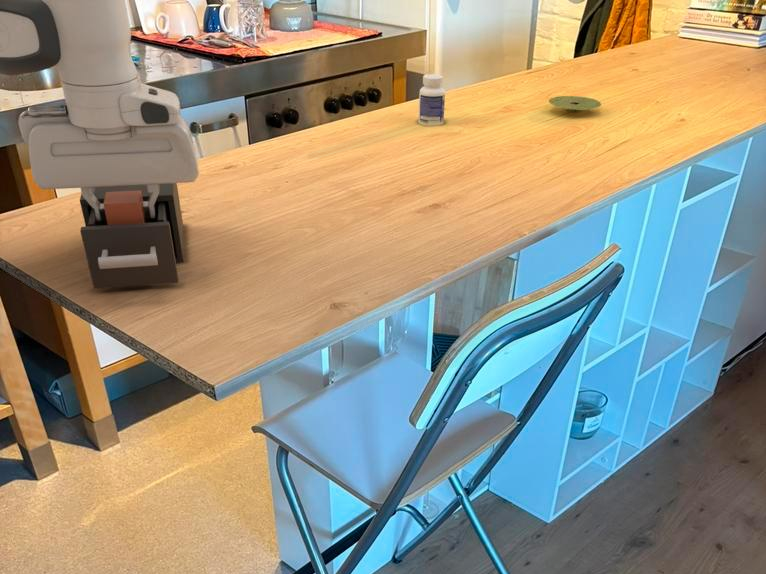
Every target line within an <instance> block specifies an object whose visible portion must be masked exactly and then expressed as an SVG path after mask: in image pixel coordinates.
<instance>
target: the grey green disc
mask: <svg viewBox="0 0 766 574" xmlns="http://www.w3.org/2000/svg"><path fill="white" fill-rule="evenodd" d="M548 103H549V104H550V105H552V106H554V107H557V108H560V109H566V110H567V109H568V111H569V113H574V112H576V111H582V110H583V111H585V110H587V111H588V110H594V109H597V108H598V109H599V107H601V106H602V103H601V102H600V101H599V100H597V99H594V98H591V97H586V96H579V95H578V96H576V95H558V96H554V97H551V98H550V99H548Z"/></svg>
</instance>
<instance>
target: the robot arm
mask: <svg viewBox="0 0 766 574" xmlns="http://www.w3.org/2000/svg"><path fill="white" fill-rule="evenodd" d="M131 40H132V30H131V24H130V19H129V13H128V8H127V3H126V0H0V75H3V76H26V75H27V76H28V75H30V74H33V73H37V72H42V71H44V70H45V71H46V70H49V69H50V70H55V71H56V72H57V73H58V75H59V79H60V83H61V87H62V93H63V97H64V100H65V104H61V105H49V106H38V105H33V106H29V107H27V110H24V111H23V112H21V113H20V115H19V117H18V123H17V124H18V128H19V131H20V135H21V138H22V140H23V142H24V143H25V144H26V145H27V146H28V153H29V154H28V155H29V156H28V157H29V161H30V162H29V163H30V170H31V174H32V179H33V182H34V183H35V184H36V185H37V186H38V187H39V188H40V189H41V190H65V189H80V191H81V193H82V196H83V197H84V199H85V200H86V201H87V202H88V203H89V204H90V205H91V207H92V208H93V209H95V214H96V218H97V221H107V219H106V214H105V209H104V204H100V202H99V201H98V200H97V198H96V197H95V196H94V195H93V194H94V190H95V188H94V187H107V186H128V185H147V188H148V192H149V193H151V195H150V197H149V200H148V201H144V202H142V211H143V216H144V219H151V218H155V209H154V204H155V202H156V199H157V197H158V194H159V184H169V183H177V184H187V183H195V181H196V180H197V179H198V177H199V175H200V167H199V160H198V155H197V151H196V146H195V142H194V138H193V135H192V132H191V128H190V127H189V125H188V123H187V121H186V120H185V119H184V118H183V116H181V112H182V111H181V103H180V99H179V97H178V95H177V94H176V93H175V92H172V91H169V90H166V89H162V88H158V87H155V86H152V85H148V84H146V83H142V82H140V78H139V73H138V69H137V66H136V64H135V62H134V60H133V57H132V56H133V55H132V51H131ZM27 115H28V116H27Z"/></svg>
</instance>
